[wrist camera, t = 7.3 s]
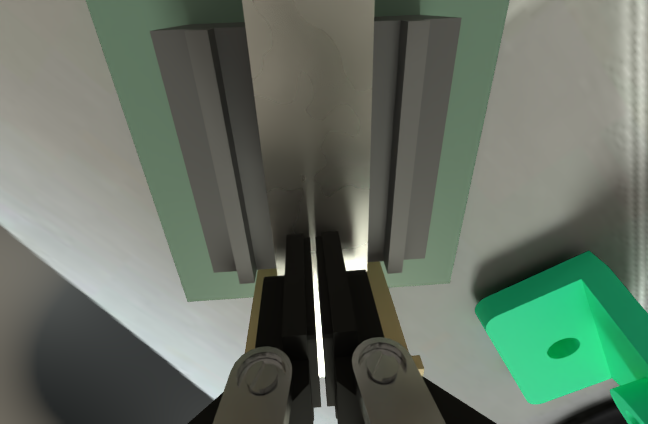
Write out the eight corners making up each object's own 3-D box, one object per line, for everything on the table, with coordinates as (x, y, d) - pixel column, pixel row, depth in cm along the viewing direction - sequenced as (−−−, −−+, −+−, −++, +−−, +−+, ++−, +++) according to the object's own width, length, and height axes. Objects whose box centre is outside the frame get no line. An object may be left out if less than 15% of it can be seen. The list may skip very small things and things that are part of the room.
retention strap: (213, -284, 6) (192, -358, 5) (372, -285, 7) (388, -358, 5) (291, 356, 15) (290, 386, 14) (360, 351, 15) (365, 380, 14)
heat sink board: (13, -267, 10) (-741, -989, 3) (550, -273, 10) (1097, -880, 3) (192, 290, 21) (138, 433, 14) (443, 272, 22) (514, 402, 15)
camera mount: (463, 292, 23) (563, 466, 14) (576, 239, 22) (768, 401, 13) (512, 376, 29) (606, 538, 20) (606, 340, 27) (753, 500, 18)
